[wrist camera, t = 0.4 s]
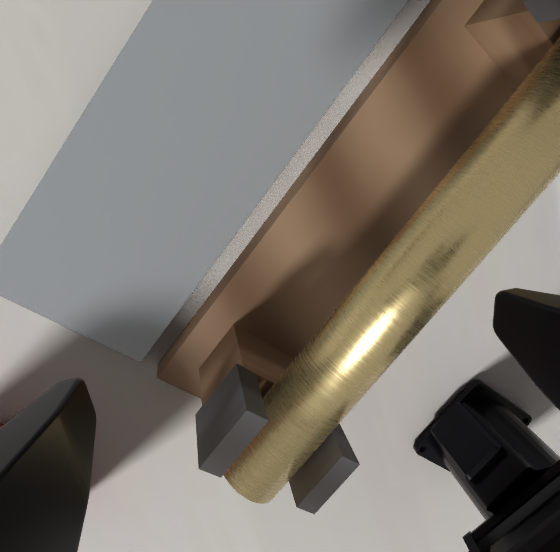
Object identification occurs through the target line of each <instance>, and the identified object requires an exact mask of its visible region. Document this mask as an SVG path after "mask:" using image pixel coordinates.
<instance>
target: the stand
mask: <svg viewBox="0 0 560 552" xmlns="http://www.w3.org/2000/svg"><path fill="white" fill-rule="evenodd" d="M559 37H560V0H431V1H430V2H429V4H428V5H427V6H426V8H425V9H424V10H423V12H422V13H421V14H420V16H419V17H418V18H417V20H416V21H415V22H414V24H413V25H412V26H411V28H410V29H409V30H408V32H407V33H406V34H405V36H404V37H403V38H402V40H401V41H400V42H399V44H398V45H397V46H396V48H395V49H394V50H393V52H392V53H391V54H390V56H389V57H388V58H387V60H386V61H385V62H384V64H383V65H382V66H381V68H380V69H379V70H378V72H377V73H376V74H375V76H374V77H373V78H372V80H371V81H370V82H369V84H368V85H367V86H366V88H365V89H364V90H363V92H362V93H361V94H360V96H359V97H358V98H357V100H356V101H355V102H354V104H353V105H352V106H351V108H350V109H349V110H348V112H347V113H346V114H345V116H344V117H343V118H342V120H341V121H340V122H339V124H338V125H337V126H336V128H335V129H334V130H333V132H332V133H331V134H330V136H329V137H328V138H327V140H326V141H325V142H324V144H323V145H322V146H321V148H320V149H319V150H318V152H317V153H316V154H315V156H314V157H313V158H312V160H311V161H310V162H309V164H308V165H307V166H306V168H305V169H304V170H303V172H302V173H301V174H300V176H299V177H298V178H297V180H296V181H295V182H294V184H293V185H292V186H291V188H290V189H289V190H288V192H287V193H286V194H285V196H284V197H283V198H282V200H281V201H280V202H279V204H278V205H277V206H276V208H275V209H274V211H273V212H272V213H271V215H270V216H269V217H268V219H267V220H266V221H265V223H264V224H263V225H262V227H261V228H260V229H259V231H258V232H257V233H256V235H255V236H254V237H253V239H252V240H251V241H250V243H249V244H248V245H247V247H246V248H245V249H244V251H243V252H242V253H241V255H240V256H239V257H238V259H237V260H236V261H235V263H234V264H233V265H232V267H231V268H230V269H229V271H228V272H227V273H226V275H225V276H224V277H223V279H222V280H221V281H220V283H219V284H218V285H217V287H216V288H215V289H214V291H213V292H212V293H211V295H210V296H209V297H208V299H207V300H206V301H205V303H204V304H203V305H202V307H201V308H200V309H199V311H198V312H197V313H196V315H195V316H194V317H193V319H192V320H191V321H190V323H189V324H188V325H187V327H186V328H185V329H184V331H183V332H182V333H181V335H180V336H179V337H178V339H177V340H176V341H175V343H174V344H173V345H172V347H171V348H170V349H169V351H168V352H167V353H166V355H165V356H164V357H163V359H162V360H161V361H160V363H159V364H158V373H157V378H159V379H161V380H163V381H165V382H167V383H169V384H171V385H174V386H176V387H178V388H180V389H182V390H184V391H186V392H188V393H191V394H193V395H195V396H197V397H199V398H201V399H202V407H201V408H200V410H199V411H198V412H197V413H196V432H197V448H198V464H199V469H201V470H203V471H206V472H208V473H211V474H213V475H216V476H218V477H222V476H223V475H224V473H225V472H226V471H227V470H228V469H229V467H230V466H231V465H232V464H233V463H234V461H235V460H236V459H237V458H238V457H239V455H240V454H241V453H242V452H243V451H244V449H245V448H246V447H247V446H248V445H249V444H250V442H251V441H252V440H253V439H254V438H255V436H256V435H257V434H258V433H259V432H260V430H261V429H262V428H263V427H264V426H265V424H266V423H267V422H268V421H269V420H268V417H267V413H266V410H265V406H264V402H263V399H262V398H263V397H264V396H265V394H266V393H267V392H268V391H269V389H270V388H271V387H272V386H273V385H274V383H275V382H276V381H277V380H278V379H279V377H280V376H281V375H282V374H283V372H284V371H285V370H286V369H287V368H288V366H289V365H290V364H291V363H292V362H293V360H294V359H295V358H296V357H297V355H298V354H299V353H300V352H301V351H302V349H303V348H304V347H305V346H306V345H307V343H308V342H309V341H310V340H311V338H312V337H313V336H314V335H315V334H316V332H317V331H318V330H319V329H320V328H321V326H322V325H323V324H324V323H325V321H326V320H327V319H328V318H329V317H330V315H331V314H332V313H333V312H334V311H335V309H336V308H337V307H338V306H339V304H340V303H341V302H342V301H343V300H344V298H345V297H346V296H347V295H348V294H349V292H350V291H351V290H352V289H353V287H354V286H355V285H356V284H357V283H358V281H359V280H360V279H361V278H362V277H363V275H364V274H365V273H366V272H367V270H368V269H369V268H370V267H371V266H372V264H373V263H374V262H375V261H376V260H377V258H378V257H379V256H380V255H381V253H382V252H383V251H384V250H385V249H386V247H387V246H388V245H389V244H390V243H391V241H392V240H393V239H394V238H395V236H396V235H397V234H398V233H399V232H400V230H401V229H402V228H403V227H404V226H405V224H406V223H407V222H408V221H409V219H410V218H411V217H412V216H413V215H414V213H415V212H416V211H417V210H418V209H419V207H420V206H421V205H422V204H423V202H424V201H425V200H426V199H427V198H428V196H429V195H430V194H431V193H432V192H433V190H434V189H435V188H436V187H437V185H438V184H439V183H440V182H441V181H442V179H443V178H444V177H445V176H446V174H447V173H448V172H449V171H450V170H451V168H452V167H453V166H454V165H455V164H456V162H457V161H458V160H459V159H460V157H461V156H462V155H463V154H464V153H465V151H466V150H467V149H468V148H469V147H470V145H471V144H472V143H473V142H474V140H475V139H476V138H477V137H478V136H479V134H480V133H481V132H482V131H483V130H484V128H485V127H486V126H487V125H488V123H489V122H490V121H491V120H492V119H493V117H494V116H495V115H496V114H497V113H498V111H499V110H500V109H501V108H502V106H503V105H504V104H505V103H506V102H507V100H508V99H509V98H510V97H511V96H512V94H513V93H514V92H515V91H516V89H517V88H518V87H519V86H520V85H521V83H522V82H523V81H524V80H525V79H526V77H527V76H528V75H529V74H530V72H531V71H532V70H533V69H534V68H535V66H536V65H537V64H538V63H539V62H540V60H541V59H542V58H543V57H544V55H545V54H546V53H547V52H548V51H549V49H550V48H551V47H552V46H553V45H554V43H555V42H556V41H557V40H558V38H559ZM359 465H360V464H359V462H358V460H357V458H356V456H355V454H354V452H353V450H352V448H351V446H350V444H349V442H348V440H347V438H346V436H345V434H344V432H343V430H342V428H341V426H340V424H338V425H337V426H336V428H335V429H334V430H333V431H332V432H331V433H330V434H329V435H328V437H327V438H326V439H325V440H324V441H323V442H322V443H321V445H320V446H319V447H318V448H317V449H316V450H315V451H314V453H313V454H312V455H311V456H310V457H309V458H308V459H307V460H306V462H305V463H304V464H303V465H302V466H301V467H300V468H299V470H298V471H297V472H296V473H295V474H294V475H293V476H292V478H291V479H290V480H289V483H290V486H291V490H292V493H293V497H294V500H295V503H296V507H297V508H300V509H303V510H305V511H308V512H310V513H313V514H315V513H316V512H317V511H318V510H319V509H320V507H321V506H322V505H323V504H324V503H325V502H326V501H327V500H328V499H329V498H330V497H331V495H332V494H333V493H334V492H335V491H336V490H337V489H338V488H339V487H340V486H341V484H342V483H343V482H344V481H345V480H346V479H347V478H348V477H349V476H350V475H351V474H352V472H353V471H354V470H355V469H356V468H357V467H358V466H359Z"/></svg>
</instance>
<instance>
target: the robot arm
mask: <svg viewBox="0 0 560 552" xmlns="http://www.w3.org/2000/svg"><path fill="white" fill-rule="evenodd" d="M493 328H494V331H495V333H496V335H497V336H498V338H499V339H500V340H501V342H502V343H503V344H504V345H505V347H506V348H507V349H508V351H509V352H510V353H511V354H512V356H513V357H514V358H515V359H516V361H517V362H518V363H519V365H520V366H521V367H522V368H523V370H524V371H525V372H526V373H527V375H528V376H529V377H530V378H531V380H532V381H533V382H534V383H535V385H536V386H537V387H538V388H539V389H540V390H541V391H542V392H543V393H544V395H545V396H546V397H547V398H548V399H549V400H550V401H551V402H552V403H553V404H554V405H555V406H556V407H557V408H558V409H559V410H560V295H555V294H549V293H543V292H537V291H531V290H525V289H519V288H513V289H508V290H503V291H500V292H498V293H497V295H496V297H495V304H494V316H493ZM531 420H532V418H531V416H530V415H529V414H528V413H526V412H525V411H524V410H522V409H521V408H519V407H518V406H517V405H515V404H514V403H512V402H511V401H509V400H508V399H507V398H505V397H504V396H502V395H501V394H500V393H498V392H497V391H495V390H494V389H492V388H491V387H490V386H488V385H487V384H485V383H484V382H482V381H481V380H479V379H478V380H474V381H472V382H471V383H470V384H469V385H468V386H467V387H466V389H465V390H464V391H463V392H462V393H461V394H460V395H459V396H458V397H457V398H456V399H455V400H454V401H453V402H452V404H451V405H450V406H449V407H448V408H447V409H446V410H445V411H444V412H443V413H442V414H441V415H440V416H439V417H438V419H437V420H436V421H435V422H434V423H433V424H432V425H431V426H430V427H429V428H428V429H427V430H426V431H425V432H424V434H423V435H422V436H421V437H420V438H419V439H418V440H417V441H416V442H415V443H414V446H413V448H414V450H415V451H416V453H417V454H418V455H420V456H422V457H424V458H426V459H428V460H429V461H431V462H433V463H435V464H437V465H439V466H441V467H442V468H444V469H446V470H448V471H450V472H451V473H452V474H453V476H454V477H455V479H456V480H457V481H458V483H459V484H460V485H461V487H462V488H463V490H464V491H465V492H466V494H467V495H468V496H469V498H470V499H471V500H472V502H473V503H474V505H475V506H476V507H477V509H478V510H479V511H480V513H481V514H482V516H483V517H484V518H485V520H486V521H484V522H483V523H482V524H481V525H480V526H478V527H477V528H476V529H475V530H473V531H472V532H470V531H469V532H468V533H467V534H466V535H464V536H463V539H464V541H465V543H466V545H467V547H468V549H469V551H468V552H560V457H559V456H558V455H557V454H556V453H555V452H554V451H553V450H552V449H551V448H549V447H548V446H547V445H546V444H545V443H544V442H543V441H542V440H541V439H540V438H539V437H538V436H537V435H536V434H535V433H534V432H533V431H531V430H530V429H529V428H528V427H527V425H528V424H529V423H530V422H531ZM95 432H96V413H95V410H94V407H93V404H92V401H91V398H90V395H89V392H88V390H87V387H86V384H85V382H84V381H83V380H82V379H81V378H75V379H70V380H65V381H61V382H59V383H57V384H56V385H55V386H53V387H52V388H51V389H50V390H48V391H47V392H46V393H44V394H43V395H42V396H41V397H39V398H38V399H37V400H36V401H34V402H33V403H32V404H30V405H29V406H28V407H27V408H25V409H24V410H23V411H21V412H20V413H19V414H18V415H16V416H15V417H14V418H12V419H11V420H10V421H9V422H7V423H6V424H5V425H3V426H2V427H1V428H0V552H77V551H78V546H79V541H80V537H81V532H82V527H83V523H84V518H85V514H86V509H87V504H88V499H89V493H90V485H91V475H92V464H93V453H94V442H95Z"/></svg>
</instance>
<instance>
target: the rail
mask: <svg viewBox="0 0 560 552" xmlns="http://www.w3.org/2000/svg"><path fill="white" fill-rule="evenodd" d="M559 173H560V37H559V38H558V40H557V41H556V42H555V43H554V45H553V46H552V47H551V48H550V49H549V51H548V52H547V53H546V54H545V55H544V57H543V58H542V59H541V60H540V62H539V63H538V64H537V65H536V66H535V68H534V69H533V70H532V71H531V72H530V74H529V75H528V76H527V77H526V79H525V80H524V81H523V82H522V83H521V85H520V86H519V87H518V88H517V89H516V91H515V92H514V93H513V94H512V96H511V97H510V98H509V99H508V100H507V102H506V103H505V104H504V105H503V106H502V108H501V109H500V110H499V111H498V113H497V114H496V115H495V116H494V117H493V119H492V120H491V121H490V122H489V123H488V125H487V126H486V127H485V128H484V130H483V131H482V132H481V133H480V134H479V136H478V137H477V138H476V139H475V140H474V142H473V143H472V144H471V145H470V147H469V148H468V149H467V150H466V151H465V153H464V154H463V155H462V156H461V157H460V159H459V160H458V161H457V162H456V164H455V165H454V166H453V167H452V168H451V170H450V171H449V172H448V173H447V174H446V176H445V177H444V178H443V179H442V181H441V182H440V183H439V184H438V185H437V187H436V188H435V189H434V190H433V192H432V193H431V194H430V195H429V196H428V198H427V199H426V200H425V201H424V202H423V204H422V205H421V206H420V207H419V209H418V210H417V211H416V212H415V213H414V215H413V216H412V217H411V218H410V219H409V221H408V222H407V223H406V224H405V226H404V227H403V228H402V229H401V230H400V232H399V233H398V234H397V235H396V236H395V238H394V239H393V240H392V241H391V243H390V244H389V245H388V246H387V247H386V249H385V250H384V251H383V252H382V253H381V255H380V256H379V257H378V258H377V260H376V261H375V262H374V263H373V264H372V266H371V267H370V268H369V269H368V270H367V272H366V273H365V274H364V275H363V277H362V278H361V279H360V280H359V281H358V283H357V284H356V285H355V286H354V287H353V289H352V290H351V291H350V292H349V294H348V295H347V296H346V297H345V298H344V300H343V301H342V302H341V303H340V304H339V306H338V307H337V308H336V309H335V311H334V312H333V313H332V314H331V315H330V317H329V318H328V319H327V320H326V321H325V323H324V324H323V325H322V326H321V328H320V329H319V330H318V331H317V332H316V334H315V335H314V336H313V337H312V338H311V340H310V341H309V342H308V343H307V345H306V346H305V347H304V348H303V349H302V351H301V352H300V353H299V354H298V355H297V357H296V358H295V359H294V360H293V362H292V363H291V364H290V365H289V366H288V368H287V369H286V370H285V371H284V372H283V374H282V375H281V376H280V377H279V379H278V380H277V381H276V382H275V383H274V385H273V386H272V387H271V388H270V389H269V391H268V392H267V393H266V394H265V396H264V397H263V398H262V399H263V402H264V406H265V410H266V413H267V417H268V420H269V421H268V422H267V423H266V424H265V426H264V427H263V428H262V429H261V430H260V432H259V433H258V434H257V435H256V436H255V438H254V439H253V440H252V441H251V442H250V444H249V445H248V446H247V447H246V448H245V449H244V451H243V452H242V453H241V454H240V455H239V457H238V458H237V459H236V460H235V461H234V463H233V464H232V465H231V466H230V467H229V469H228V470H227V471H226V472H225V473H224V476H225V478H226V479H227V481H228V482H229V484H230V485H231V486H232V487H233V488H234V489H235V490H236V491H237V492H238V493H239V494H241V495H242V496H243V497H245V498H247V499H248V500H250V501H253V502H256V503H268V502H270V501H271V500H272V499H273V498H274V497H275V496H276V495H277V493H278V492H279V491H280V490H281V489H282V488H283V487H284V485H285V484H286V483H287V482H288V481H289V480H290V479H291V478H292V476H293V475H294V474H295V473H296V472H297V471H298V470H299V468H300V467H301V466H302V465H303V464H304V463H305V462H306V460H307V459H308V458H309V457H310V456H311V455H312V454H313V453H314V451H315V450H316V449H317V448H318V447H319V446H320V445H321V443H322V442H323V441H324V440H325V439H326V438H327V437H328V435H329V434H330V433H331V432H332V431H333V430H334V429H335V428H336V426H337V425H338V424H339V423H340V422H341V421H342V420H343V418H344V417H345V416H346V415H347V414H348V413H349V412H350V410H351V409H352V408H353V407H354V406H355V405H356V404H357V403H358V401H359V400H360V399H361V398H362V397H363V396H364V395H365V393H366V392H367V391H368V390H369V389H370V388H371V387H372V385H373V384H374V383H375V382H376V381H377V380H378V379H379V377H380V376H381V375H382V374H383V373H384V372H385V371H386V370H387V368H388V367H389V366H390V365H391V364H392V363H393V362H394V360H395V359H396V358H397V357H398V356H399V355H400V354H401V352H402V351H403V350H404V349H405V348H406V347H407V346H408V345H409V343H410V342H411V341H412V340H413V339H414V338H415V337H416V335H417V334H418V333H419V332H420V331H421V330H422V329H423V327H424V326H425V325H426V324H427V323H428V322H429V321H430V320H431V318H432V317H433V316H434V315H435V314H436V313H437V312H438V310H439V309H440V308H441V307H442V306H443V305H444V304H445V302H446V301H447V300H448V299H449V298H450V297H451V296H452V295H453V293H454V292H455V291H456V290H457V289H458V288H459V287H460V285H461V284H462V283H463V282H464V281H465V280H466V279H467V277H468V276H469V275H470V274H471V273H472V272H473V271H474V270H475V268H476V267H477V266H478V265H479V264H480V263H481V262H482V260H483V259H484V258H485V257H486V256H487V255H488V254H489V252H490V251H491V250H492V249H493V248H494V247H495V246H496V245H497V243H498V242H499V241H500V240H501V239H502V238H503V237H504V235H505V234H506V233H507V232H508V231H509V230H510V229H511V227H512V226H513V225H514V224H515V223H516V222H517V221H518V220H519V218H520V217H521V216H522V215H523V214H524V213H525V212H526V210H527V209H528V208H529V207H530V206H531V205H532V204H533V202H534V201H535V200H536V199H537V198H538V197H539V196H540V194H541V193H542V192H543V191H544V190H545V189H546V188H547V187H548V185H549V184H550V183H551V182H552V181H553V180H554V179H555V177H556V176H557V175H558V174H559Z"/></svg>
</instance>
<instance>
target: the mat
mask: <svg viewBox="0 0 560 552" xmlns="http://www.w3.org/2000/svg"><path fill="white" fill-rule="evenodd" d="M407 1H408V0H153V1H152V3H151V4H150V6H149V7H148V9H147V11H146V12H145V14H144V15H143V17H142V19H141V20H140V22H139V23H138V25H137V27H136V28H135V30H134V32H133V33H132V35H131V36H130V38H129V40H128V41H127V43H126V44H125V46H124V48H123V49H122V51H121V52H120V54H119V56H118V57H117V59H116V61H115V62H114V64H113V65H112V67H111V69H110V70H109V72H108V73H107V75H106V77H105V78H104V80H103V82H102V83H101V85H100V86H99V88H98V90H97V91H96V93H95V94H94V96H93V98H92V99H91V101H90V102H89V104H88V106H87V107H86V109H85V111H84V112H83V114H82V115H81V117H80V119H79V120H78V122H77V123H76V125H75V127H74V128H73V130H72V131H71V133H70V135H69V136H68V138H67V140H66V141H65V143H64V144H63V146H62V148H61V149H60V151H59V152H58V154H57V156H56V157H55V159H54V160H53V162H52V164H51V165H50V167H49V169H48V170H47V172H46V173H45V175H44V177H43V178H42V180H41V181H40V183H39V185H38V186H37V188H36V190H35V191H34V193H33V194H32V196H31V198H30V199H29V201H28V202H27V204H26V206H25V207H24V209H23V210H22V212H21V214H20V215H19V217H18V219H17V220H16V222H15V223H14V225H13V227H12V228H11V230H10V231H9V233H8V235H7V236H6V238H5V239H4V241H3V243H2V244H1V246H0V296H1V297H4V298H6V299H8V300H10V301H12V302H14V303H16V304H18V305H20V306H22V307H25V308H27V309H29V310H31V311H33V312H35V313H37V314H39V315H41V316H43V317H45V318H48V319H50V320H52V321H54V322H56V323H58V324H60V325H62V326H64V327H66V328H69V329H71V330H73V331H75V332H77V333H79V334H81V335H83V336H85V337H87V338H89V339H92V340H94V341H96V342H98V343H100V344H102V345H104V346H106V347H108V348H110V349H113V350H115V351H117V352H119V353H121V354H123V355H125V356H127V357H129V358H131V359H133V360H136V361H138V362H140V363H141V361H142V360H143V359H144V357H145V356H146V355H147V353H148V352H149V350H150V349H151V348H152V346H153V345H154V344H155V342H156V341H157V340H158V338H159V337H160V336H161V334H162V333H163V332H164V330H165V329H166V327H167V326H168V325H169V323H170V322H171V321H172V319H173V318H174V317H175V315H176V314H177V313H178V311H179V310H180V308H181V307H182V306H183V304H184V303H185V302H186V300H187V299H188V298H189V296H190V295H191V294H192V292H193V291H194V290H195V288H196V287H197V285H198V284H199V283H200V281H201V280H202V279H203V277H204V276H205V275H206V273H207V272H208V271H209V269H210V268H211V267H212V265H213V264H214V262H215V261H216V260H217V258H218V257H219V256H220V254H221V253H222V252H223V250H224V249H225V248H226V246H227V245H228V244H229V242H230V241H231V239H232V238H233V237H234V235H235V234H236V233H237V231H238V230H239V229H240V227H241V226H242V225H243V223H244V222H245V221H246V219H247V218H248V216H249V215H250V214H251V212H252V211H253V210H254V208H255V207H256V206H257V204H258V203H259V202H260V200H261V199H262V198H263V196H264V195H265V193H266V192H267V191H268V189H269V188H270V187H271V185H272V184H273V183H274V181H275V180H276V179H277V177H278V176H279V175H280V173H281V172H282V170H283V169H284V168H285V166H286V165H287V164H288V162H289V161H290V160H291V158H292V157H293V156H294V154H295V153H296V152H297V150H298V149H299V147H300V146H301V145H302V143H303V142H304V141H305V139H306V138H307V137H308V135H309V134H310V133H311V131H312V130H313V129H314V127H315V126H316V124H317V123H318V122H319V120H320V119H321V118H322V116H323V115H324V114H325V112H326V111H327V110H328V108H329V107H330V106H331V104H332V103H333V101H334V100H335V99H336V97H337V96H338V95H339V93H340V92H341V91H342V89H343V88H344V87H345V85H346V84H347V83H348V81H349V80H350V78H351V77H352V76H353V74H354V73H355V72H356V70H357V69H358V68H359V66H360V65H361V64H362V62H363V61H364V60H365V58H366V57H367V55H368V54H369V53H370V51H371V50H372V49H373V47H374V46H375V45H376V43H377V42H378V41H379V39H380V38H381V36H382V35H383V34H384V32H385V31H386V30H387V28H388V27H389V26H390V24H391V23H392V22H393V20H394V19H395V18H396V16H397V15H398V13H399V12H400V11H401V9H402V8H403V7H404V5H405V4H406V3H407Z"/></svg>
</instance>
